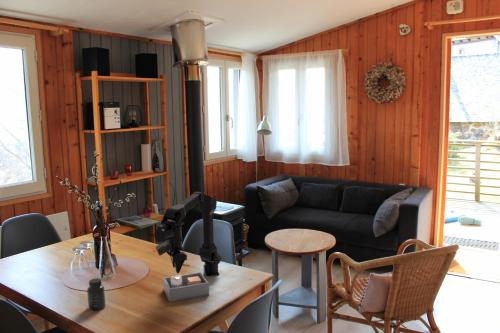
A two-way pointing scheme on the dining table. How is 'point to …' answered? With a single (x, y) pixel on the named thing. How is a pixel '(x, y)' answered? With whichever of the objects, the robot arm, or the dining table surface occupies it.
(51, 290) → the dining table surface
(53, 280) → the dining table surface
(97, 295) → the supplement bottle
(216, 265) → the robot arm
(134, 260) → the dining table surface
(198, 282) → the terracotta cube
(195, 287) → the tote
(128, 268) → the dining table surface
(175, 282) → the aluminium cylinder
